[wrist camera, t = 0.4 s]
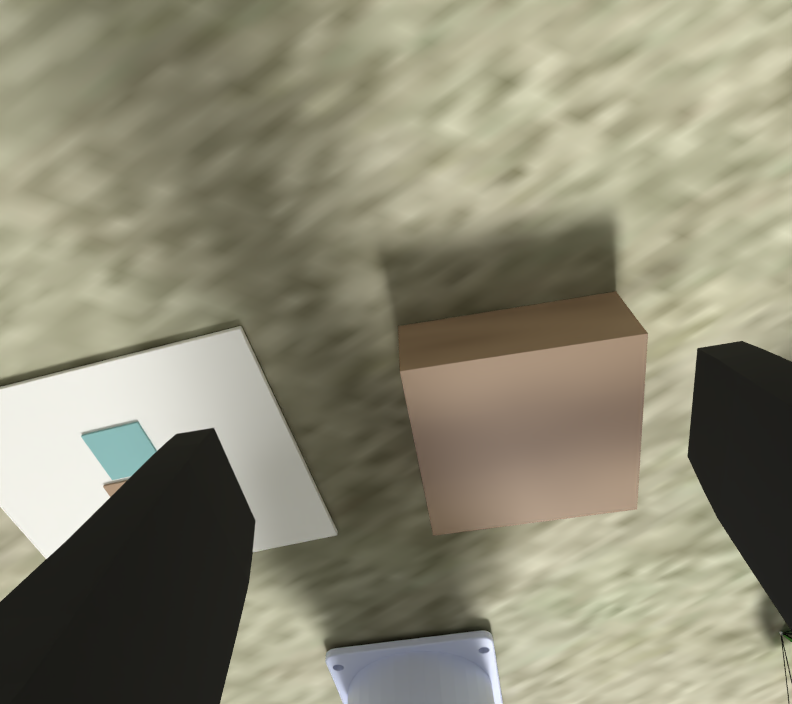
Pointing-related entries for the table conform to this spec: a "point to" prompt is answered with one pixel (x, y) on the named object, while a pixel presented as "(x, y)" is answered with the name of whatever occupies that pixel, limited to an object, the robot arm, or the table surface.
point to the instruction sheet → (151, 438)
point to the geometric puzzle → (785, 653)
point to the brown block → (526, 412)
